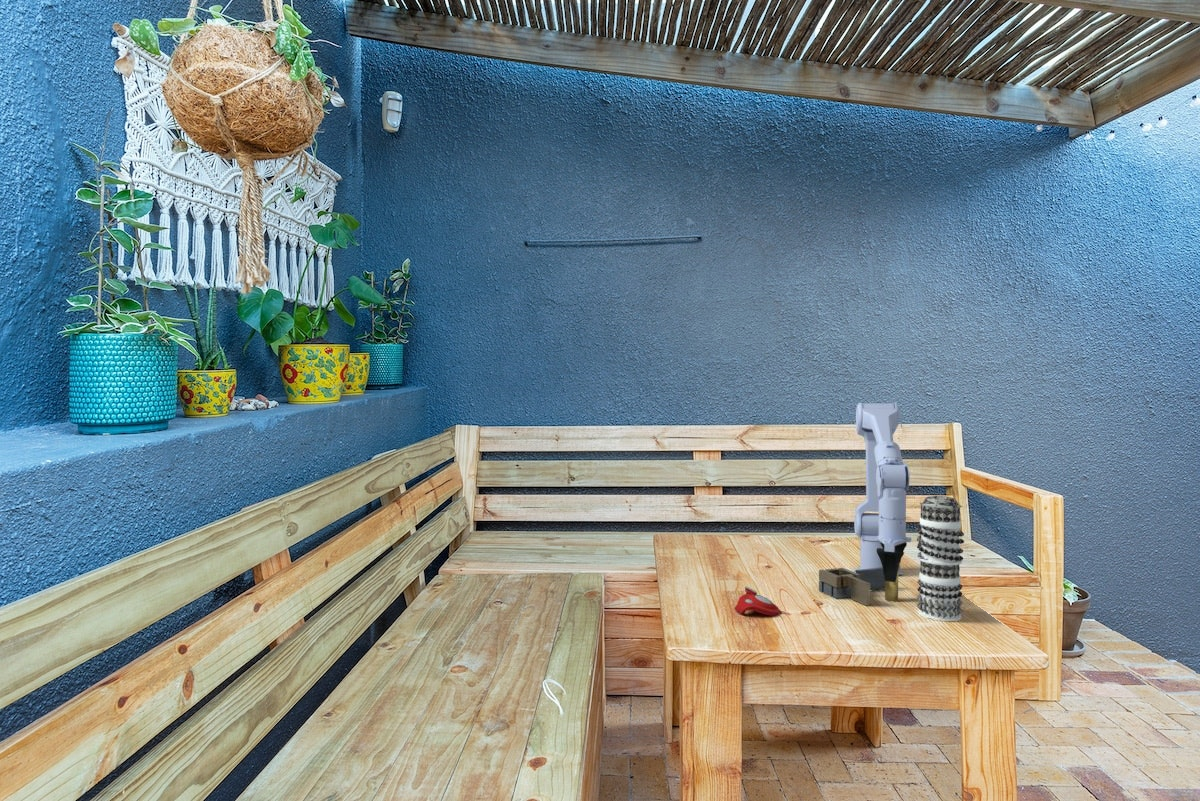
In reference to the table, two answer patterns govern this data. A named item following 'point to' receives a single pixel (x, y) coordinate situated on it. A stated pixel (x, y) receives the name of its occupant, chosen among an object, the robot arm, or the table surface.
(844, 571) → the swing leaf
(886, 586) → the hinge pin
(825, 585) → the fixed leaf
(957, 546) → the decorative candle
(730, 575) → the table surface
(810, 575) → the table surface
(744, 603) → the tracker holder
